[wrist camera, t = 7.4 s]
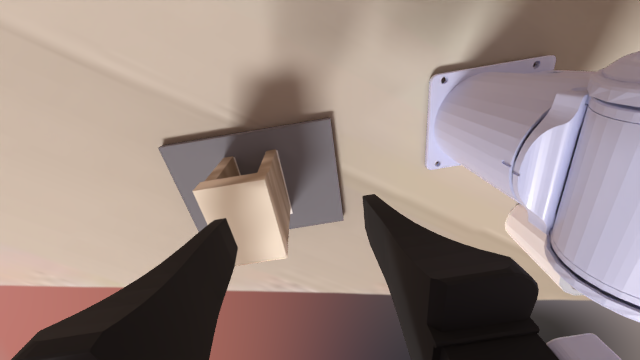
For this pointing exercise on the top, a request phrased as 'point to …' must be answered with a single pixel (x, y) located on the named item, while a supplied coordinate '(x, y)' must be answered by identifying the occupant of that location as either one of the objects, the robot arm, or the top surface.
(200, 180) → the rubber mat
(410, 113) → the top surface
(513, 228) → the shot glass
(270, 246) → the two-pronged tan block
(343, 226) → the top surface
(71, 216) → the top surface
